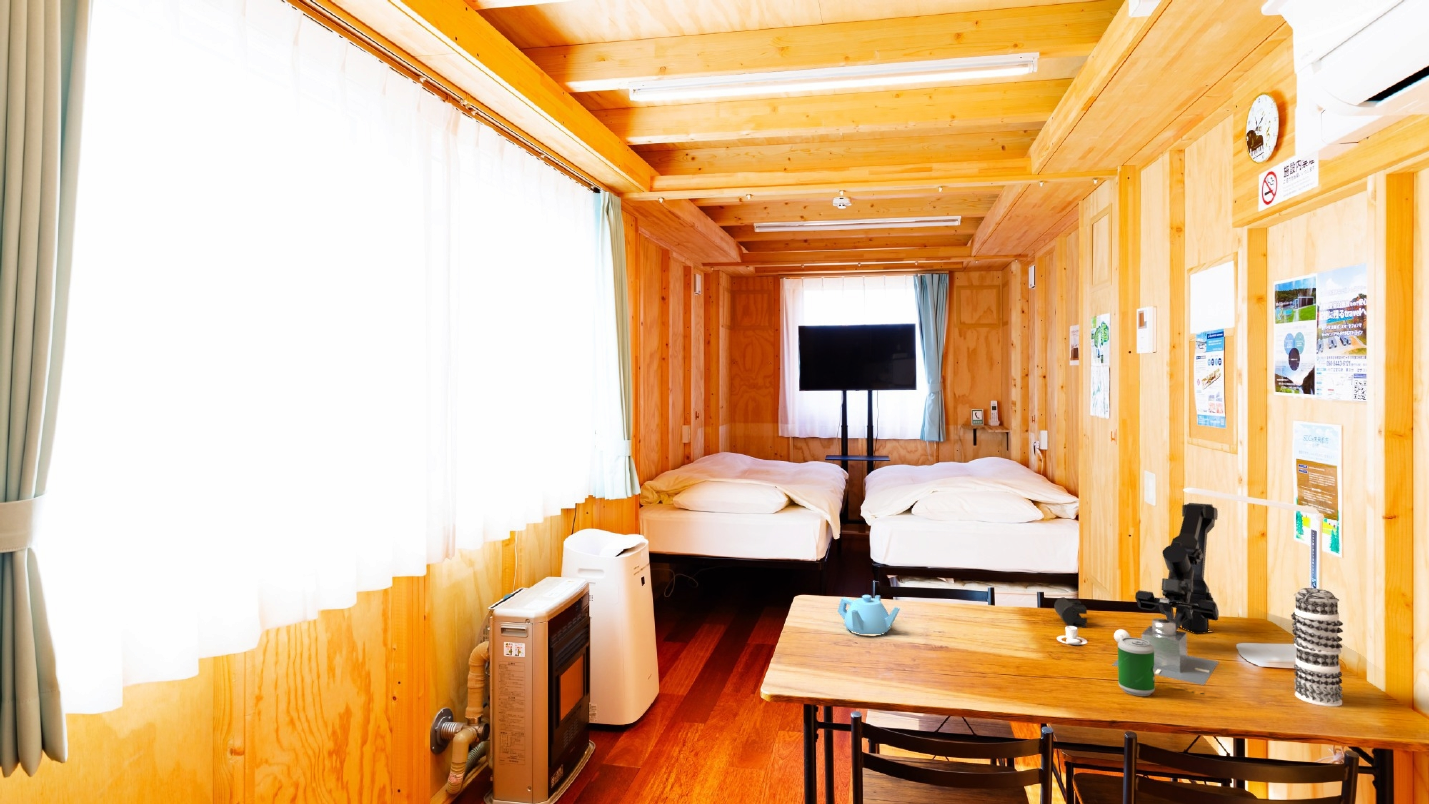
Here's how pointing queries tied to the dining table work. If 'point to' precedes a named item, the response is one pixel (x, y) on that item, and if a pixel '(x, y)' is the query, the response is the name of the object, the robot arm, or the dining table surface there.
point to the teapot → (866, 615)
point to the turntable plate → (1192, 672)
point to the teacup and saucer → (1071, 636)
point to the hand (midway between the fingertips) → (1171, 632)
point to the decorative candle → (1317, 647)
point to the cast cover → (1167, 645)
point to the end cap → (1071, 612)
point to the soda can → (1136, 666)
